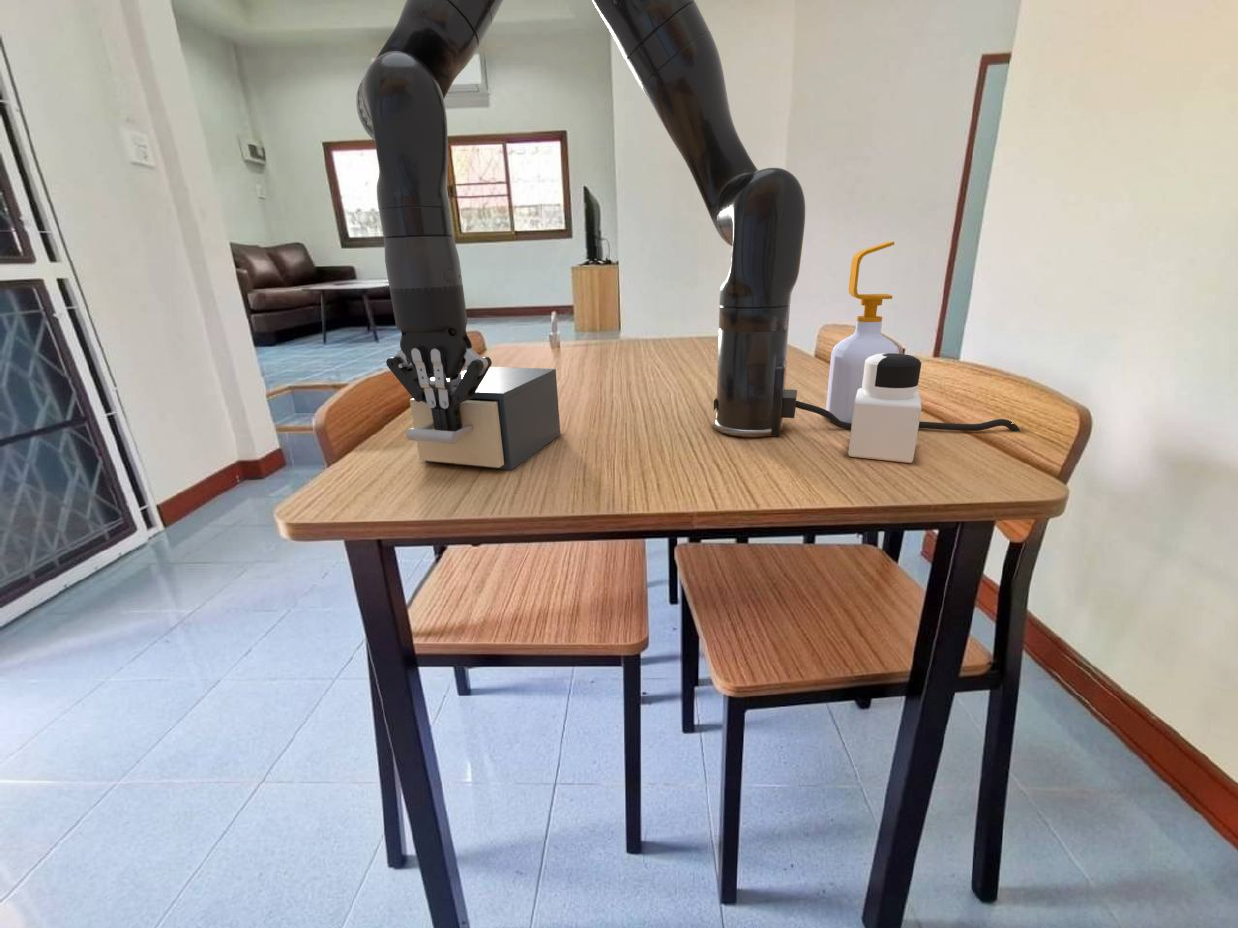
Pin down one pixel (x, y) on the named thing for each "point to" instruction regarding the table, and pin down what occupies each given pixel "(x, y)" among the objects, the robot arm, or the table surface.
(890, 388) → the medicine bottle
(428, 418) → the drawer
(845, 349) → the soap bottle
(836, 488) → the table surface
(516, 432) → the cabinet
